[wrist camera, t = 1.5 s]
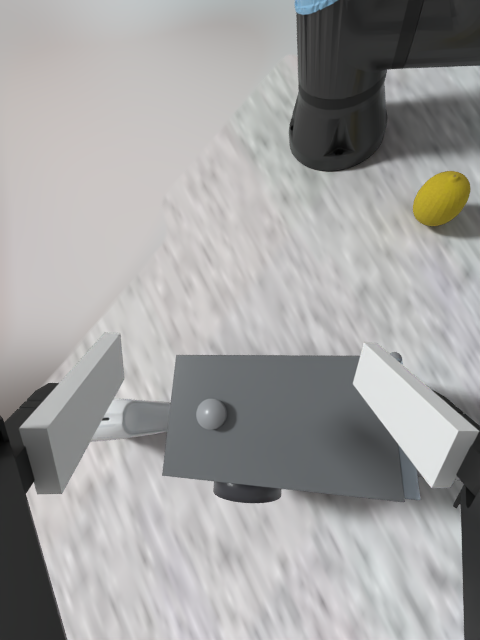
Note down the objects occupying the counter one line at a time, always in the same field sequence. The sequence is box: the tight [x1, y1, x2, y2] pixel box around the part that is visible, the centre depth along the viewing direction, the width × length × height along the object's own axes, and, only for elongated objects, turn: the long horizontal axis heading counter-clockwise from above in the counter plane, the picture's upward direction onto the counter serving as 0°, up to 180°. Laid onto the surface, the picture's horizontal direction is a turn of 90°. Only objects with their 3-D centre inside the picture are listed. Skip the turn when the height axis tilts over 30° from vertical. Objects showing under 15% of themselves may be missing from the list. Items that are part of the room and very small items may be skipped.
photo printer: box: [90, 399, 171, 442], centre depth 34 cm, size 10×4×12 cm, turn 93°
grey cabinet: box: [162, 355, 405, 503], centre depth 28 cm, size 12×18×15 cm, turn 87°
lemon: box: [413, 171, 470, 226], centre depth 35 cm, size 6×6×8 cm
